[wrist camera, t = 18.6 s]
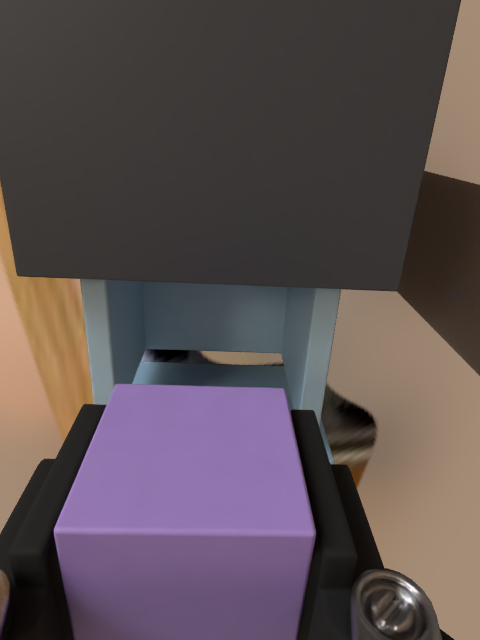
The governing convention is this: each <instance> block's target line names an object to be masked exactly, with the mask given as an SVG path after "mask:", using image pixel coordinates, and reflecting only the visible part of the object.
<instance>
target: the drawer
mask: <svg viewBox="0 0 480 640" xmlns="http://www.w3.org/2000/svg"><path fill="white" fill-rule="evenodd" d="M80 283H81V292H82V301H83V310H84V319H85V328H86V337H87V346H88V355H89V364H90V373H91V382H92V391H93V400H94V404H99V405H107V403H108V401H109V398H110V396H111V394H112V391H113V389H114V387H115V385H116V384H149V385H186V386H222V387H258V388H283V389H285V391H286V394H287V399H288V404H289V408H290V412H291V410H292V409H295V410H314V412H315V414H316V418H317V421H318V424H319V428H320V431H321V435H322V438H323V441H324V445H325V448H326V451H327V455H328V458H329V461H330V464H334V459H333V456H332V453H331V450H330V446H329V443H328V440H327V437H326V433H325V430H324V427H323V424H322V420H321V413H322V406H323V400H324V394H325V387H326V381H327V375H328V368H329V362H330V356H331V349H332V343H333V337H334V331H335V324H336V318H337V311H338V305H339V299H340V292H341V289H326V288H301V287H276V286H250V285H225V284H200V283H175V282H150V281H125V280H100V279H80ZM145 349H168V350H198V351H229V352H230V351H231V352H259V353H281V354H282V359H283V363H284V366H259V365H228V364H197V363H166V362H140V361H141V359H142V356H143V353H144V351H145Z"/></svg>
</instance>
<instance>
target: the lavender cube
mask: <svg viewBox="0 0 480 640" xmlns="http://www.w3.org/2000/svg"><path fill="white" fill-rule="evenodd" d="M54 537H55V542H56V548H57V553H58V558H59V564H60V569H61V574H62V580H63V585H64V590H65V596H66V601H67V606H68V612H69V617H70V622H71V628H72V633H73V638H74V640H297V638H298V633H299V627H300V622H301V616H302V610H303V605H304V599H305V593H306V588H307V582H308V577H309V571H310V565H311V560H312V555H313V549H314V544H315V538H316V529H315V524H314V520H313V515H312V510H311V506H310V501H309V496H308V492H307V487H306V483H305V478H304V473H303V469H302V464H301V459H300V455H299V450H298V445H297V441H296V436H295V431H294V427H293V422H292V418H291V413H290V408H289V404H288V399H287V394H286V391H285V389H283V388H258V387H222V386H186V385H149V384H116V385H115V387H114V389H113V391H112V394H111V396H110V398H109V401H108V403H107V405H106V408H105V410H104V413H103V415H102V417H101V420H100V422H99V424H98V427H97V429H96V431H95V434H94V436H93V438H92V441H91V443H90V445H89V448H88V450H87V452H86V455H85V457H84V460H83V462H82V464H81V467H80V469H79V471H78V474H77V476H76V478H75V481H74V483H73V485H72V488H71V490H70V492H69V495H68V497H67V500H66V502H65V504H64V507H63V509H62V511H61V514H60V516H59V518H58V521H57V523H56V525H55V528H54Z"/></svg>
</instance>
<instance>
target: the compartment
mask: <svg viewBox="0 0 480 640" xmlns="http://www.w3.org/2000/svg"><path fill="white" fill-rule="evenodd" d="M460 3H461V0H0V181H1V187H2V193H3V198H4V204H5V210H6V215H7V221H8V227H9V232H10V238H11V244H12V250H13V255H14V261H15V267H16V272H17V276H24V277H49V278H74V279H100V280H125V281H150V282H175V283H200V284H225V285H250V286H276V287H301V288H326V289H351V290H377V291H398V288H399V283H400V279H401V274H402V269H403V265H404V260H405V256H406V251H407V246H408V242H409V237H410V233H411V228H412V224H413V219H414V214H415V210H416V205H417V201H418V196H419V191H420V187H421V182H422V178H423V173H424V168H425V164H426V159H427V155H428V150H429V145H430V140H431V136H432V132H433V127H434V122H435V118H436V113H437V108H438V104H439V99H440V94H441V90H442V86H443V81H444V76H445V71H446V67H447V62H448V58H449V53H450V49H451V44H452V39H453V35H454V30H455V26H456V21H457V16H458V12H459V7H460Z"/></svg>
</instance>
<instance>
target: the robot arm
mask: <svg viewBox="0 0 480 640" xmlns="http://www.w3.org/2000/svg"><path fill="white" fill-rule="evenodd" d="M105 408H106V405H99V404H84V405H83V406H82V408H81V410H80V412H79V414H78V416H77V418H76V420H75V422H74V424H73V426H72V428H71V430H70V431H69V433H68V435H67V437H66V439H65V441H64V443H63V445H62V447H61V449H60V451H59V453H58V455H57V457H56V459H44V460H42V461H41V462H40V464H39V465H38V466H37V468H36V470H35V472H34V474H33V475H32V477H31V479H30V481H29V483H28V485H27V487H26V488H25V490H24V492H23V494H22V495H21V497H20V499H19V501H18V503H17V505H16V506H15V508H14V510H13V512H12V514H11V515H10V517H9V519H8V521H7V523H6V525H5V526H4V528H3V530H2V532H1V534H0V640H74V638H73V633H72V628H71V622H70V617H69V612H68V606H67V601H66V596H65V590H64V585H63V580H62V574H61V569H60V564H59V558H58V553H57V548H56V542H55V537H54V528H55V525H56V523H57V521H58V518H59V516H60V514H61V511H62V509H63V507H64V504H65V502H66V500H67V497H68V495H69V492H70V490H71V488H72V485H73V483H74V481H75V478H76V476H77V474H78V471H79V469H80V467H81V464H82V462H83V460H84V457H85V455H86V452H87V450H88V448H89V445H90V443H91V441H92V438H93V436H94V434H95V431H96V429H97V427H98V424H99V422H100V420H101V417H102V415H103V413H104V410H105ZM290 413H291V418H292V422H293V427H294V431H295V436H296V441H297V445H298V450H299V455H300V459H301V464H302V469H303V473H304V478H305V483H306V487H307V492H308V496H309V501H310V506H311V510H312V515H313V520H314V524H315V529H316V538H315V544H314V549H313V555H312V560H311V565H310V571H309V577H308V582H307V588H306V593H305V599H304V605H303V610H302V616H301V622H300V627H299V633H298V638H297V640H454V639H453V638H451V637H450V636H449V635H447V634H446V633H445V632H443V631H442V630H441V629H440V628H439V624H438V620H437V616H436V613H435V610H434V609H433V605H432V603H431V601H430V599H429V598H428V597H427V596H426V594H425V592H424V591H423V590H422V589H421V588H420V587H419V586H418V585H417V584H416V583H415V582H414V581H413V580H411V579H410V578H408V577H406V576H405V575H403V574H401V573H400V572H396V571H393V570H390V569H386V568H384V566H383V563H382V560H381V557H380V554H379V552H378V549H377V546H376V543H375V541H374V537H373V535H372V532H371V529H370V526H369V523H368V520H367V517H366V514H365V512H364V509H363V506H362V503H361V500H360V497H359V494H358V491H357V489H356V486H355V483H354V480H353V477H352V474H351V472H350V469H349V467H348V466H347V465H335V464H330V461H329V458H328V455H327V451H326V448H325V445H324V441H323V438H322V435H321V431H320V428H319V424H318V421H317V418H316V414H315V412H314V410H295V409H292V410H291V412H290Z"/></svg>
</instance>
